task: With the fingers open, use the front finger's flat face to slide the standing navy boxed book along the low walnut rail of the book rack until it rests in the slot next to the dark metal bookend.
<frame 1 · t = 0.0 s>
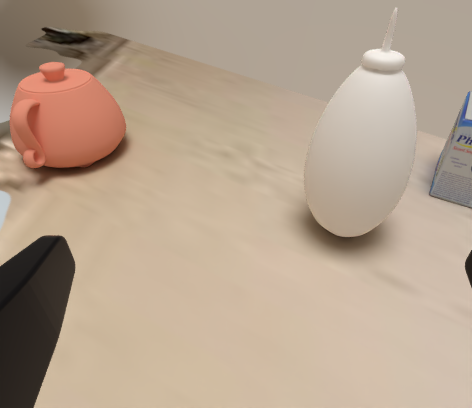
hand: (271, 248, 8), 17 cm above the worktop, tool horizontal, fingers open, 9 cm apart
sugar bowl: (74, 155, 43), on the worktop
sauce bottle: (340, 229, 33), on the worktop
medicine box: (454, 185, 39), on the worktop
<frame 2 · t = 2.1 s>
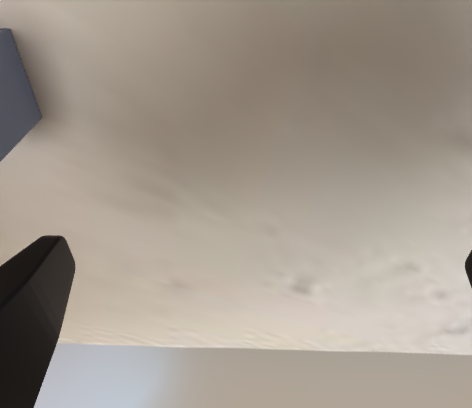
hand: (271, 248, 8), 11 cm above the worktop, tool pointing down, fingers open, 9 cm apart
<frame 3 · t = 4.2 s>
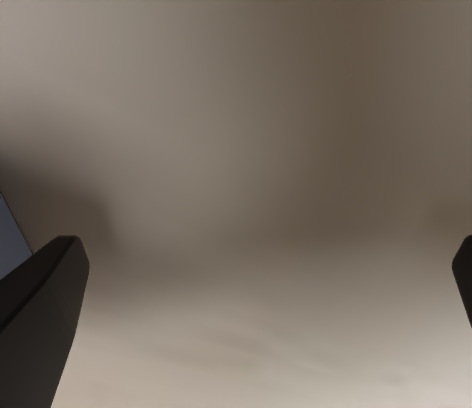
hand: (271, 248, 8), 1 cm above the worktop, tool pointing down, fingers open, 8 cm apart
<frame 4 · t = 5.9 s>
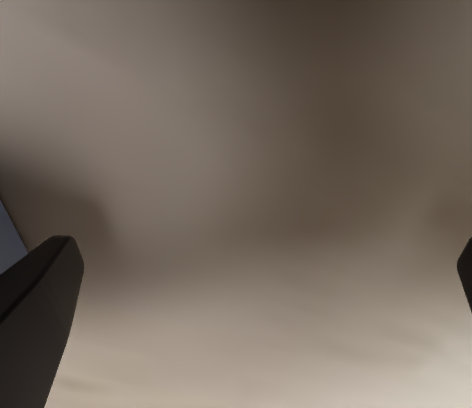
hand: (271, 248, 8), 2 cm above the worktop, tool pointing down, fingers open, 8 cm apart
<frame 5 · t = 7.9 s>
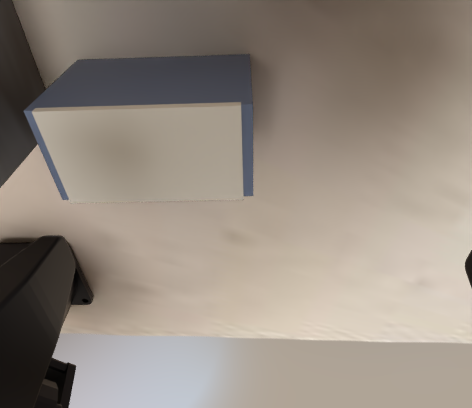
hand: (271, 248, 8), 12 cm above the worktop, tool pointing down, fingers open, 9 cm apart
book rack: (237, 8, 15), on the worktop
boxed book: (169, 97, 18), on the worktop
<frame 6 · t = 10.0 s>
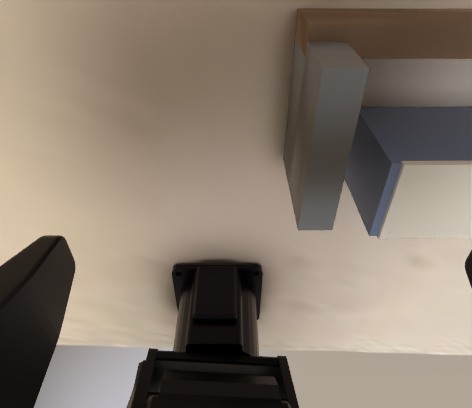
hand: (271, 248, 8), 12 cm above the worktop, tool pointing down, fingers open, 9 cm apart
boxed book: (419, 140, 20), on the worktop
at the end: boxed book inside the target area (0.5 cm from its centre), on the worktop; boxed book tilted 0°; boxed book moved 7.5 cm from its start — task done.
